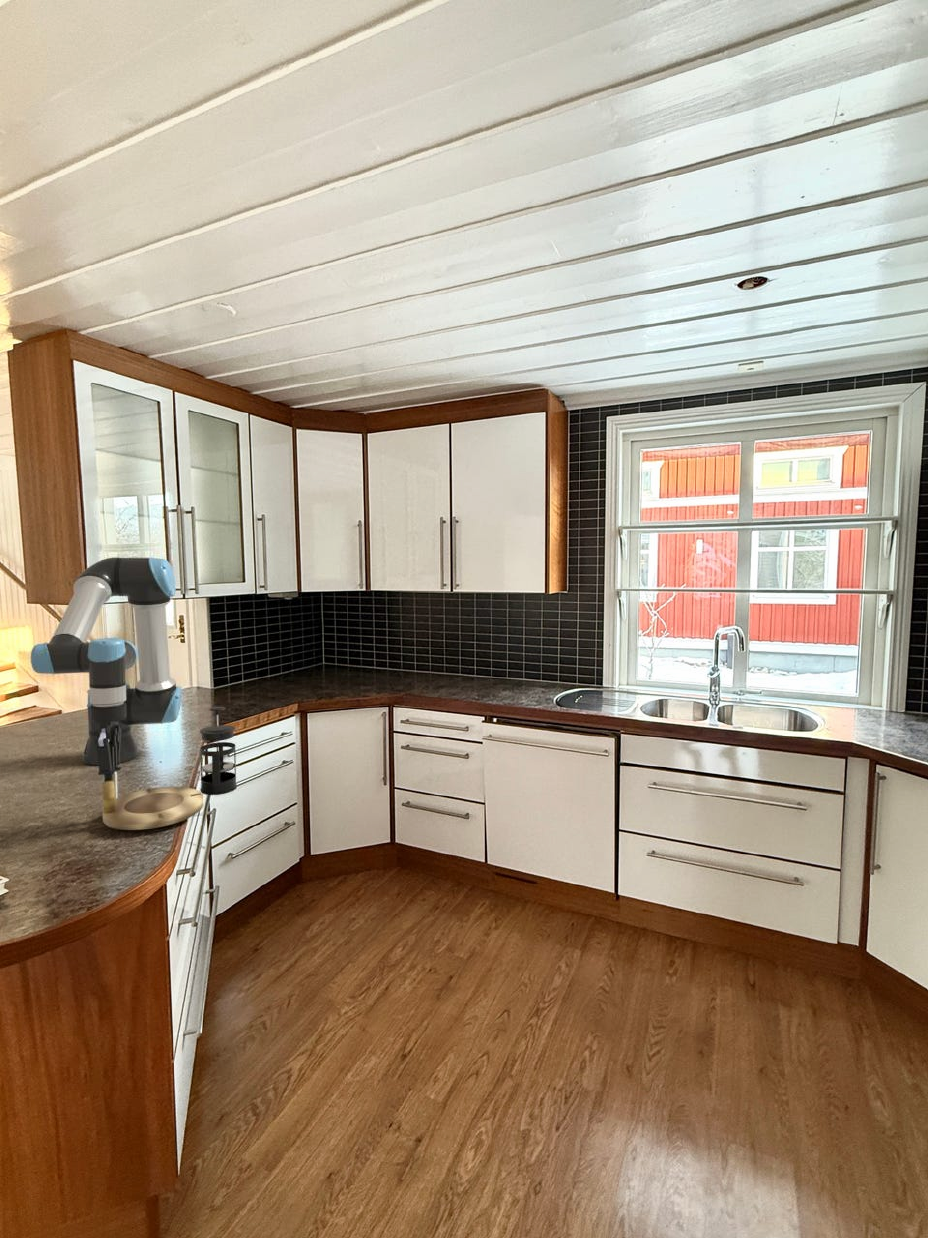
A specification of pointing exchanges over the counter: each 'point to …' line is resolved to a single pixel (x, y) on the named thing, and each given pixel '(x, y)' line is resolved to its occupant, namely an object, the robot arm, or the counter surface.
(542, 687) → the counter surface
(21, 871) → the counter surface
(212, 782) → the french press
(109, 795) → the turntable
